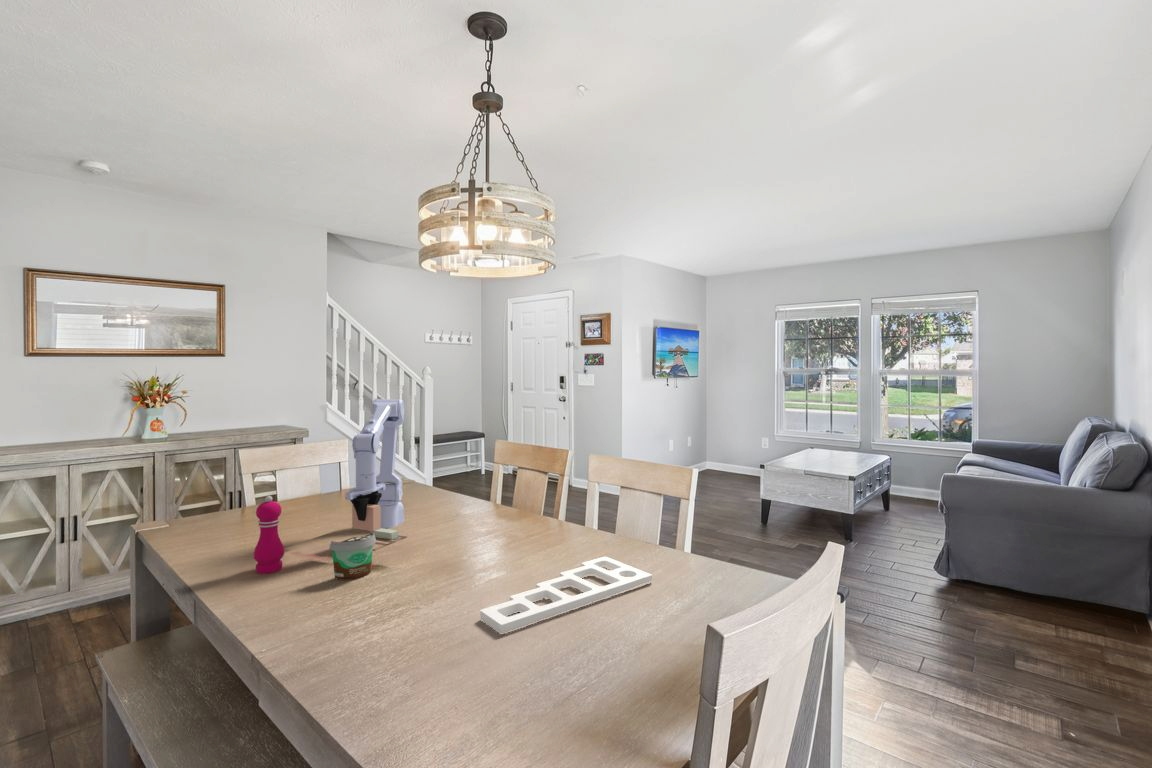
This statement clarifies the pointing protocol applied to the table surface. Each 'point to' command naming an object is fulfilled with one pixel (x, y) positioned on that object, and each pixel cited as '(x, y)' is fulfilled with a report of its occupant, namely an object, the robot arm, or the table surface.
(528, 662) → the table surface
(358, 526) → the pink rectangular prism
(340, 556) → the food container
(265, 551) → the pepper mill
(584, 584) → the holder
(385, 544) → the rack
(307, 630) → the table surface
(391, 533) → the upper offcut
